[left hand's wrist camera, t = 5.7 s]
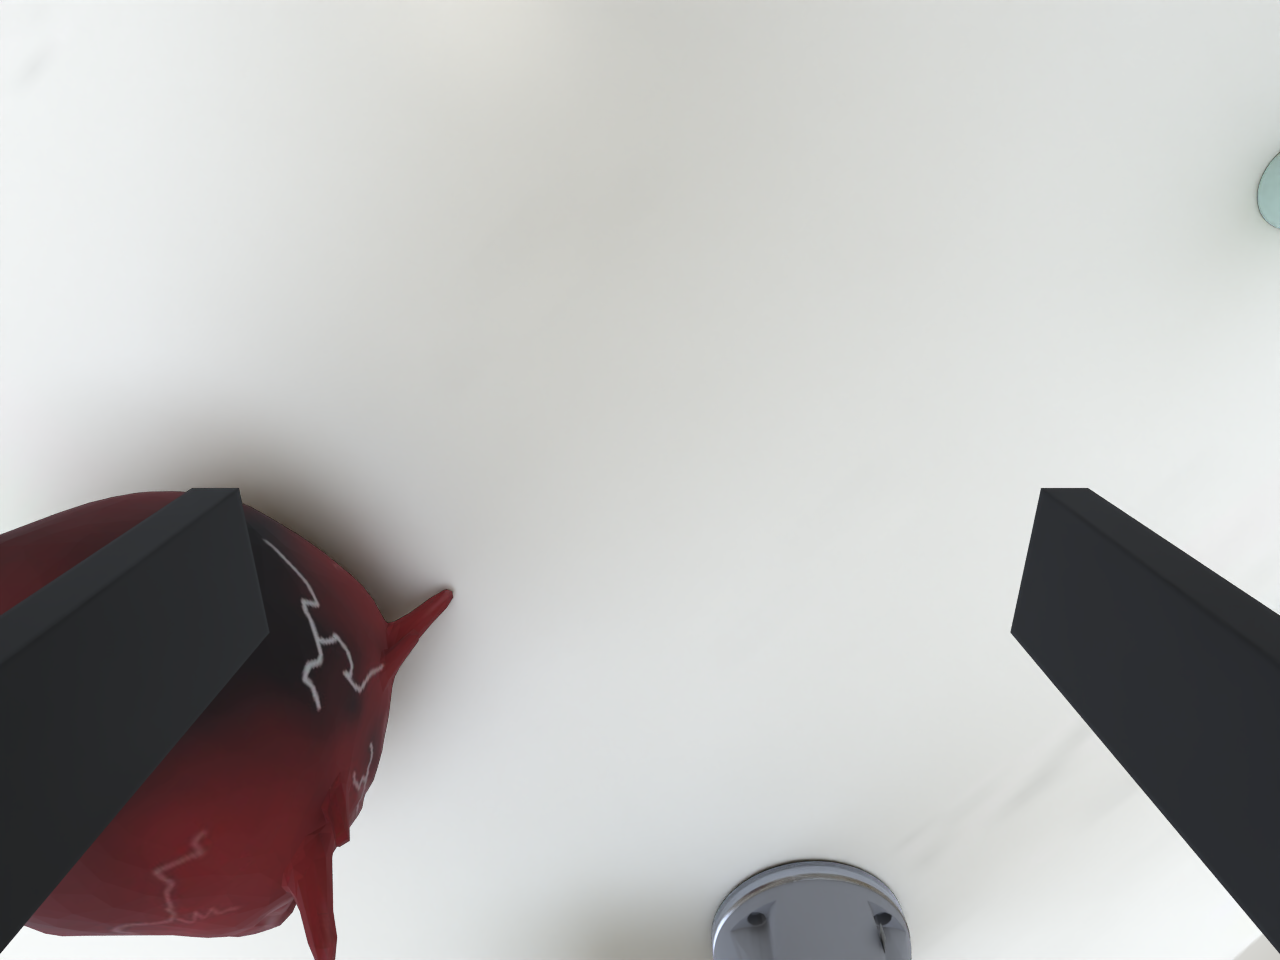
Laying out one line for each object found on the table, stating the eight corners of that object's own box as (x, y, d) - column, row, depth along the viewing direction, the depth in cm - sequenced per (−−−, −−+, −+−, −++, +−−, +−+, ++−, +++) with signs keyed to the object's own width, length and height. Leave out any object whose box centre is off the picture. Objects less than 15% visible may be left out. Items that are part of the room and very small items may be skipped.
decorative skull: (179, 1052, 43) (409, 960, 30) (-339, 929, 33) (-315, 720, 21) (321, 723, 59) (508, 575, 46) (1, 576, 49) (129, 339, 37)
